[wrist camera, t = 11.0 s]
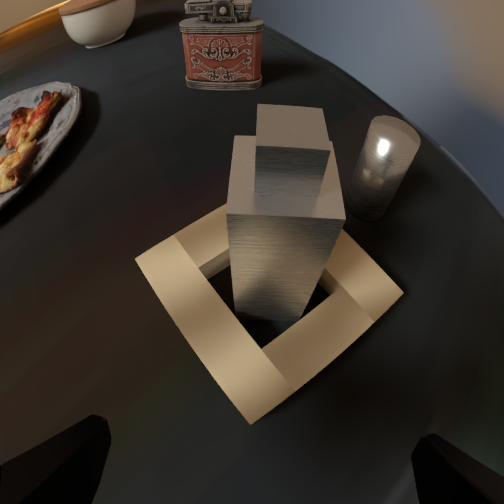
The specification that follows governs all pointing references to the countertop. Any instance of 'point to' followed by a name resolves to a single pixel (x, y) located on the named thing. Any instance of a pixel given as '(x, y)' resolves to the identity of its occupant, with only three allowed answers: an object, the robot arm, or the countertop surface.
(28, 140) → the food plate
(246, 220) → the square bit
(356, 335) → the socket block
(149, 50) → the countertop surface
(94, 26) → the lidded bowl
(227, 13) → the lighter
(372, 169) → the round peg
